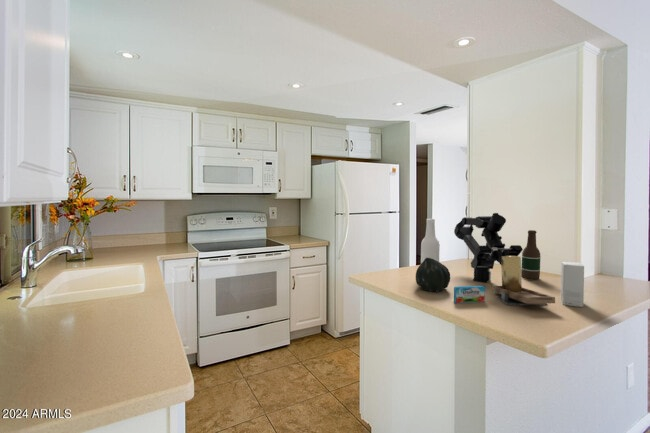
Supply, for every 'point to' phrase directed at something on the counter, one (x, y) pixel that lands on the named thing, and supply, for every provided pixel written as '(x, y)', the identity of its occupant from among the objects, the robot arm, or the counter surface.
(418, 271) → the squash
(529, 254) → the beer bottle
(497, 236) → the robot arm
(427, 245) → the alcohol
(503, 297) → the pivot stand
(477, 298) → the yogurt
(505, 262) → the cylinder
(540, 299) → the brown wooden tray
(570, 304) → the skincare box
